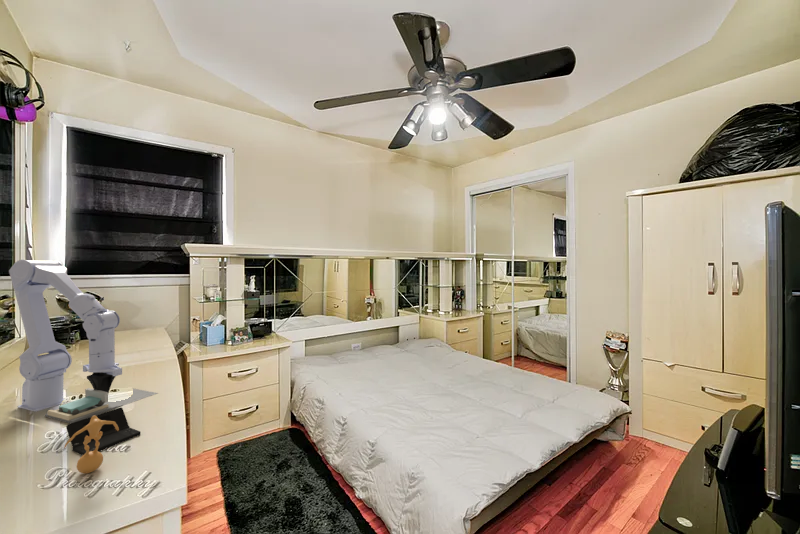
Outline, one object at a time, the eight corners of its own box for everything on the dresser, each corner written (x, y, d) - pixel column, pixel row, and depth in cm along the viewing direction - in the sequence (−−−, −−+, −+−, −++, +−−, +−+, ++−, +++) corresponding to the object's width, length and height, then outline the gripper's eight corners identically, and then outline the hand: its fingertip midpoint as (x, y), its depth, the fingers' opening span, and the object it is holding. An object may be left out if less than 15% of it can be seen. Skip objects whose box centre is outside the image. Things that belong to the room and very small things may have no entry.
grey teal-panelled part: (53, 414, 90) (52, 399, 90) (90, 401, 98) (90, 387, 98) (73, 419, 87) (72, 404, 87) (110, 405, 95) (109, 391, 95)
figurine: (112, 458, 71) (113, 404, 71) (122, 467, 68) (123, 410, 68) (58, 479, 64) (59, 418, 64) (67, 490, 61) (68, 426, 61)
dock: (44, 417, 90) (44, 409, 90) (133, 389, 111) (133, 383, 111) (71, 424, 86) (71, 416, 86) (158, 394, 107) (158, 387, 107)
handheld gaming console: (93, 451, 72) (80, 410, 74) (71, 468, 72) (60, 427, 75) (146, 433, 82) (133, 398, 85) (126, 448, 83) (114, 413, 86)
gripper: (133, 350, 99) (133, 394, 99) (102, 347, 104) (102, 389, 104) (106, 356, 92) (106, 404, 92) (74, 352, 97) (74, 398, 97)
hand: (102, 397), depth 98 cm, fingers closed, pressing on grey teal-panelled part
